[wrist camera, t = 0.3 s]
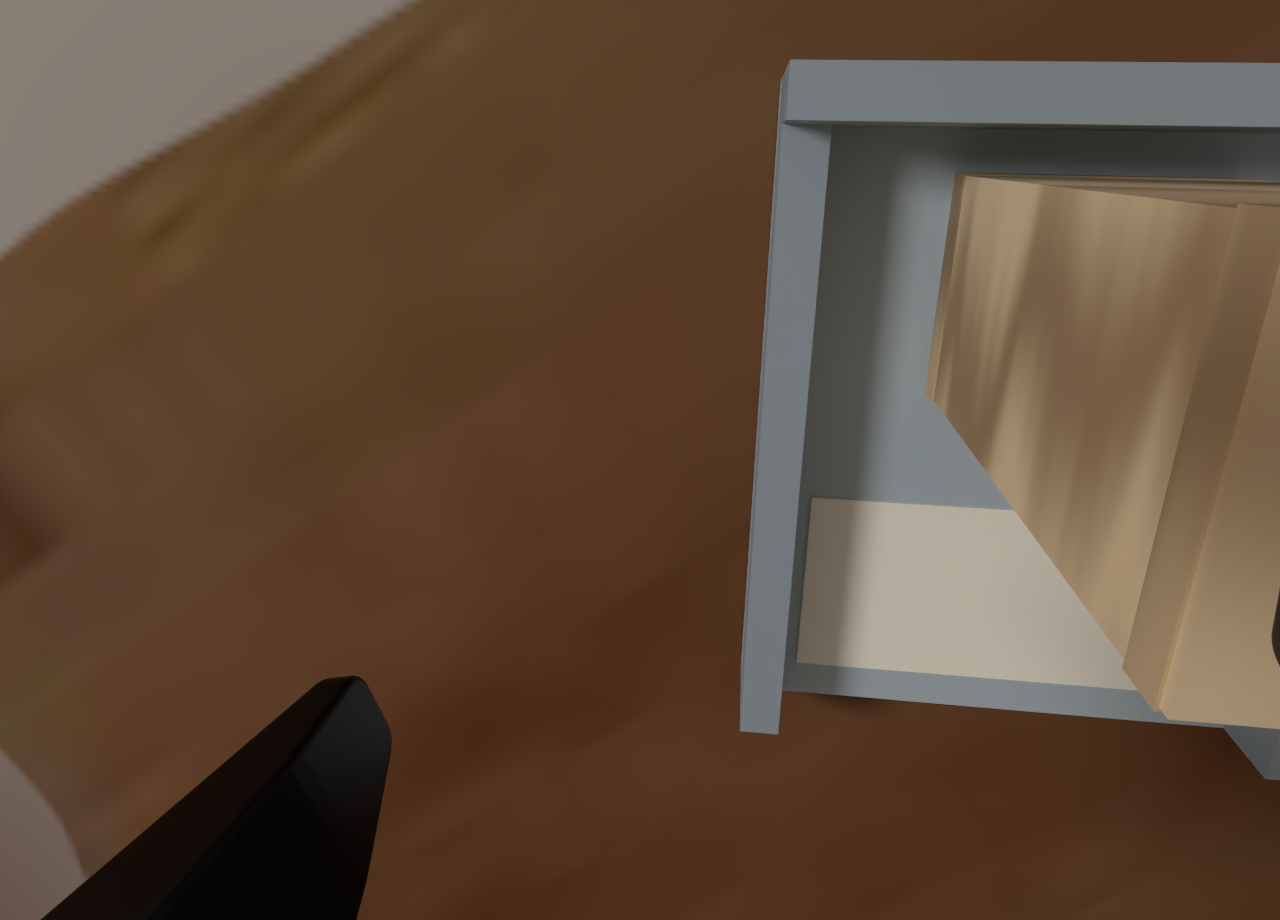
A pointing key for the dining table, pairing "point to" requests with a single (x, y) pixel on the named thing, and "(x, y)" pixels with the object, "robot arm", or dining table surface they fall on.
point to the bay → (897, 372)
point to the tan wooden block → (1131, 409)
